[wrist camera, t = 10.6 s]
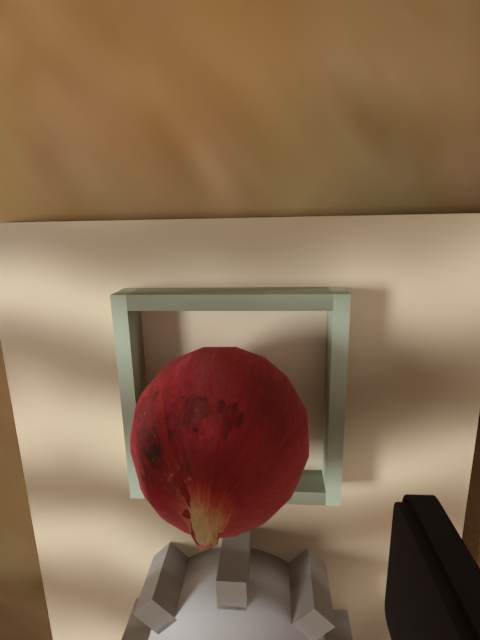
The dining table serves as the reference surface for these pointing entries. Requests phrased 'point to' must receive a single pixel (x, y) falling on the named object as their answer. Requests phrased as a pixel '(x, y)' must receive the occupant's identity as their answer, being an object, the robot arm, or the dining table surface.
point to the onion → (219, 442)
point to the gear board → (283, 352)
